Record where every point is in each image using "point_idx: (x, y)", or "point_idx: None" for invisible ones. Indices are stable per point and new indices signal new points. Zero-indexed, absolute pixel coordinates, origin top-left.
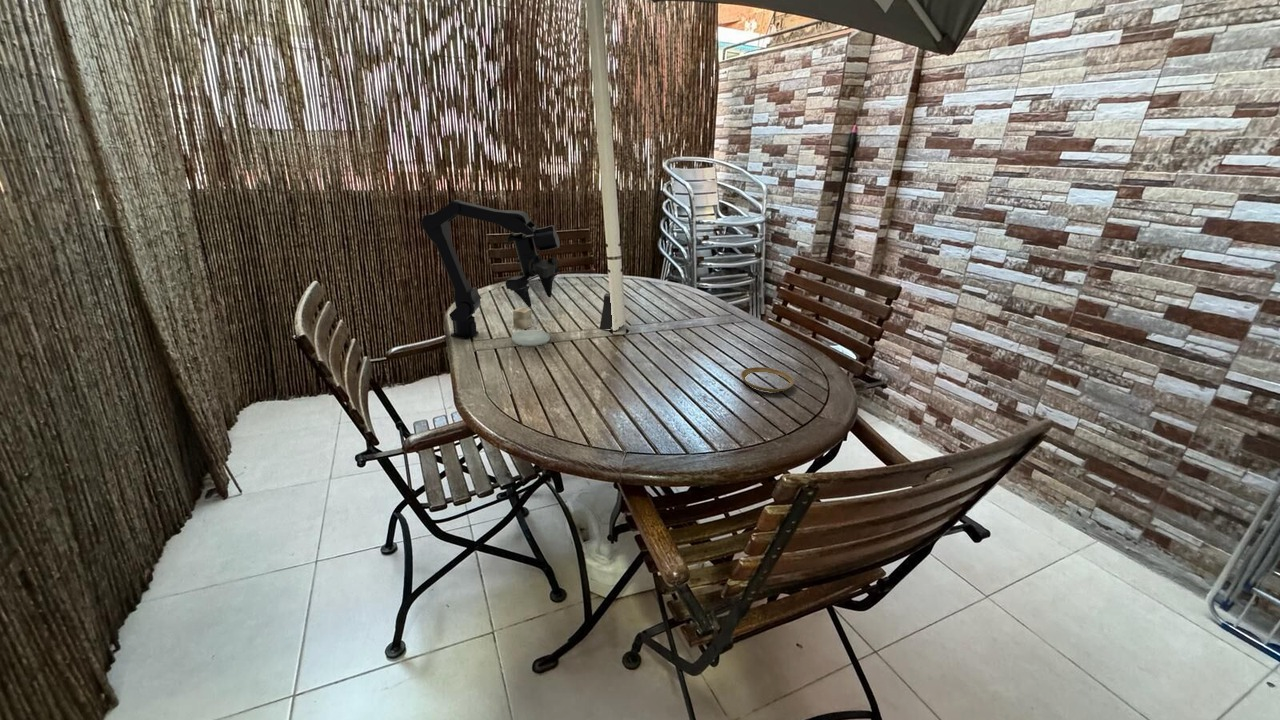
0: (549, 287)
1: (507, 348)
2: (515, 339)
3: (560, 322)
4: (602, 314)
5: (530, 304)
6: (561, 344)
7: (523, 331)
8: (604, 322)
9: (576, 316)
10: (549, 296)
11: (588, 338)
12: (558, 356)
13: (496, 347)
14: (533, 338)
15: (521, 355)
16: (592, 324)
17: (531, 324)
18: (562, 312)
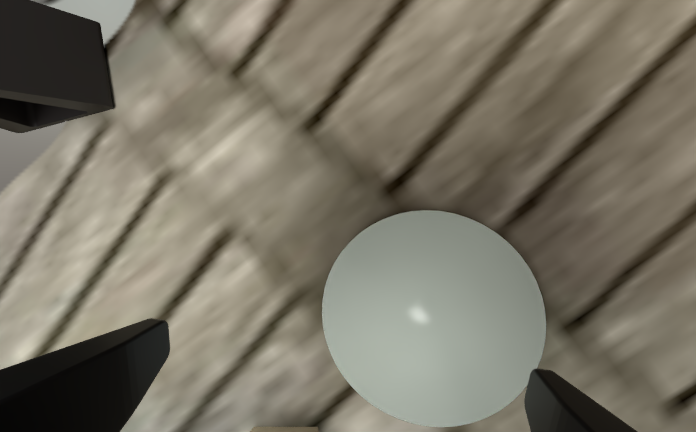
0: (36, 394)
1: (622, 349)
2: (525, 366)
3: None
4: (15, 87)
5: (568, 387)
6: (384, 135)
7: (386, 398)
8: (66, 78)
9: (44, 303)
10: (161, 337)
11: (236, 76)
12: (546, 34)
13: (649, 414)
14: (446, 286)
15: (669, 215)
16: (82, 178)
17: (252, 430)
18: None
